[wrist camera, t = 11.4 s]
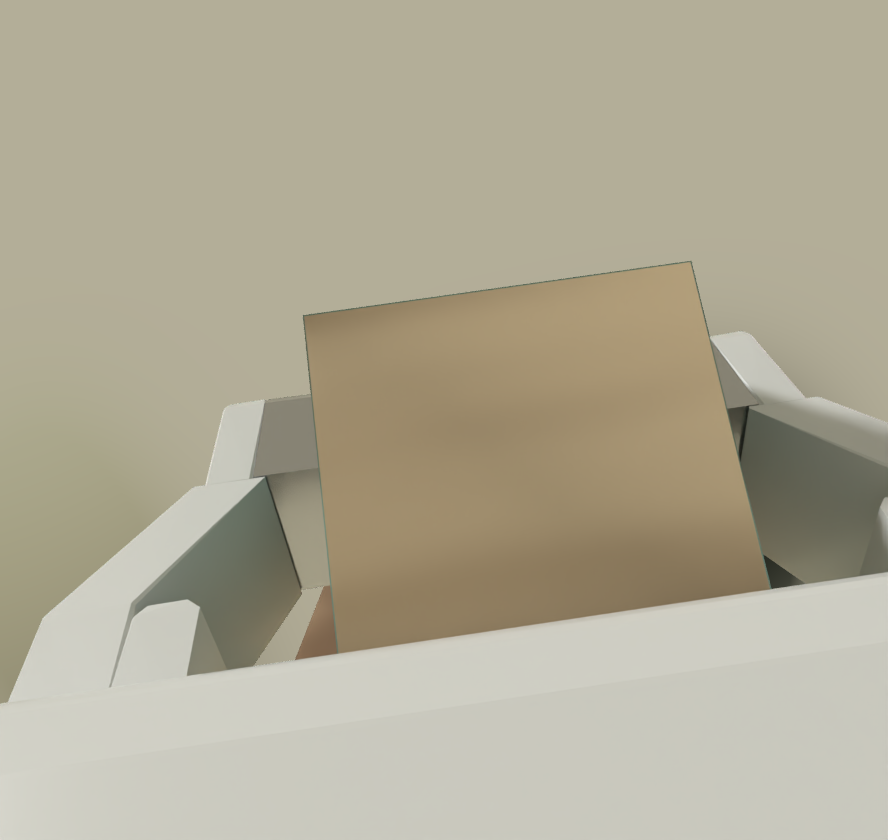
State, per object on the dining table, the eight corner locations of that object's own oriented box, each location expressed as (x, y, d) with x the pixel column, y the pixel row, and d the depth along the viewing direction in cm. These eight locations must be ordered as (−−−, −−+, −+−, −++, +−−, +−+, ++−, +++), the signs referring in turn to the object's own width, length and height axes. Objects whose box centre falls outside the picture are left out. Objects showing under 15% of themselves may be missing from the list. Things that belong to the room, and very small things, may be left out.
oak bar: (438, 644, 29) (426, 551, 30) (530, 631, 29) (515, 538, 30) (345, 732, 6) (302, 314, 7) (790, 667, 6) (691, 261, 7)
